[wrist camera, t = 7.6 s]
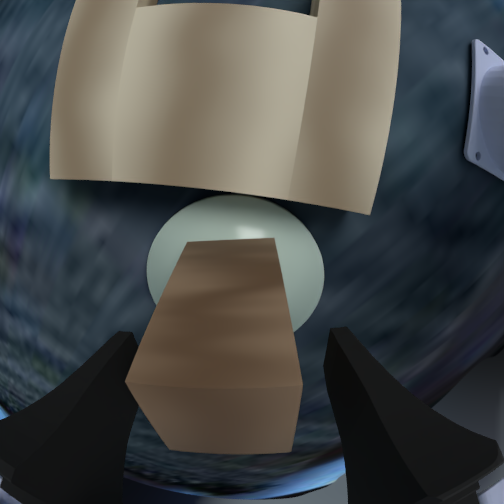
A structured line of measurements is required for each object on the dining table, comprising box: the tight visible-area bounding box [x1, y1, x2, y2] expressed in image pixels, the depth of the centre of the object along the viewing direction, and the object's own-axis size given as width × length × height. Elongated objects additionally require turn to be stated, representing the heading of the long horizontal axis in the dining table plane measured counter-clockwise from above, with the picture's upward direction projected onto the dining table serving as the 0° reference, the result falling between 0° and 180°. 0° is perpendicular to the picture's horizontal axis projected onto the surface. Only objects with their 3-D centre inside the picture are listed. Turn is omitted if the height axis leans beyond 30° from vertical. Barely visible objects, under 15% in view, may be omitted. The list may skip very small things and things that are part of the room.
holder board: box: [50, 0, 401, 215], centre depth 7 cm, size 14×16×2 cm
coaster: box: [147, 194, 324, 332], centre depth 14 cm, size 9×9×1 cm
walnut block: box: [125, 238, 303, 454], centre depth 10 cm, size 4×4×8 cm
